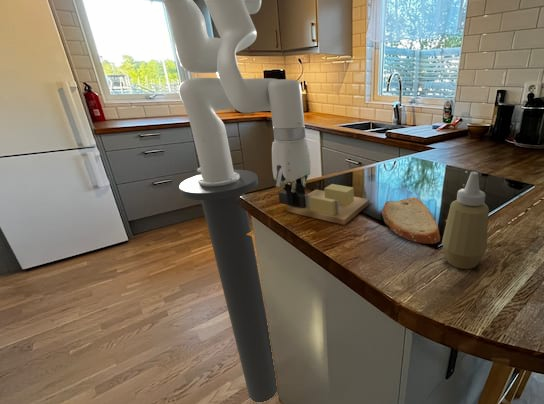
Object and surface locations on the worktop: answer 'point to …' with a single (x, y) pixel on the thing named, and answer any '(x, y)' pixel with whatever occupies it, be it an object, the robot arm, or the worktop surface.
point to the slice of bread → (411, 220)
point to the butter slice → (322, 205)
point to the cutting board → (342, 218)
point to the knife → (300, 200)
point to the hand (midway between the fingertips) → (296, 202)
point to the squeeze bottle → (466, 226)
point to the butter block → (340, 193)
